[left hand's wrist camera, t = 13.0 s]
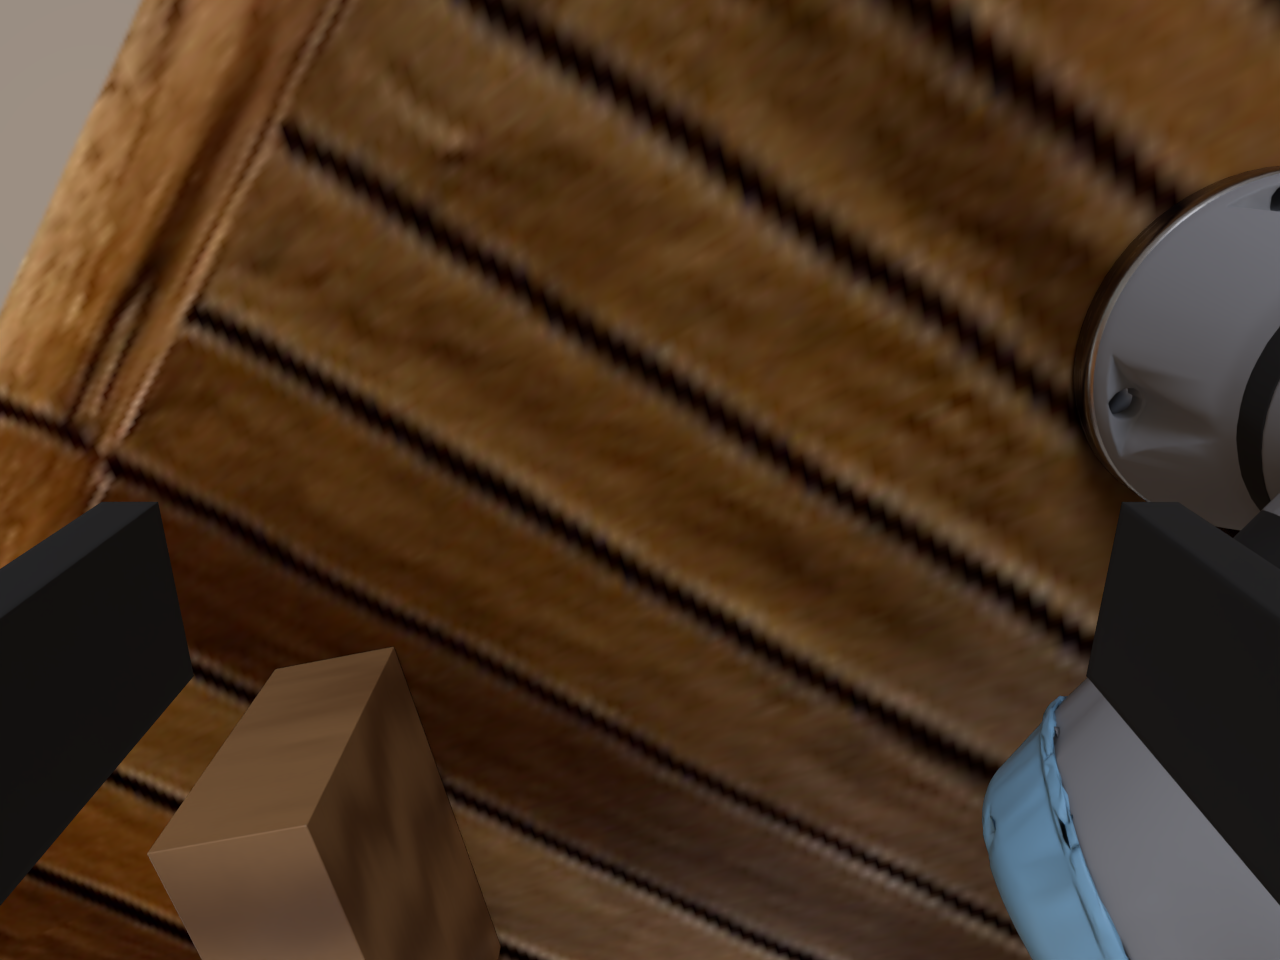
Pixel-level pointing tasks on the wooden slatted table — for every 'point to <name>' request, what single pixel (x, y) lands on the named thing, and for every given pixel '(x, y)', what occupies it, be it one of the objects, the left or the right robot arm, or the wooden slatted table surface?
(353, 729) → the box
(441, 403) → the wooden slatted table surface
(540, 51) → the wooden slatted table surface
